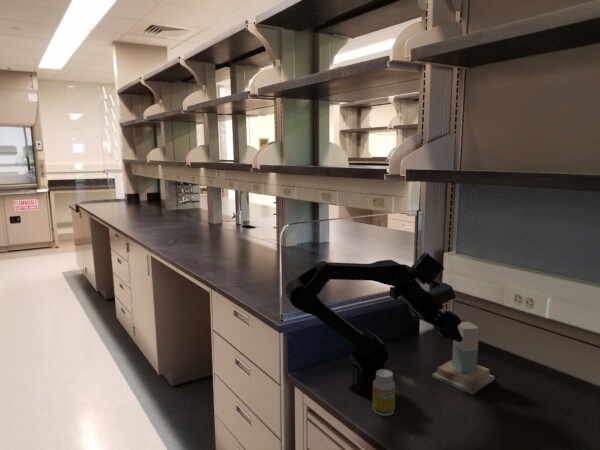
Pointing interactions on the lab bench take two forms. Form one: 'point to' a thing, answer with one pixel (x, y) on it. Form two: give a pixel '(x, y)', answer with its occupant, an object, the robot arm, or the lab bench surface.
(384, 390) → the supplement bottle
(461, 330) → the white and blue box
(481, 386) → the tower base
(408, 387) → the lab bench surface
